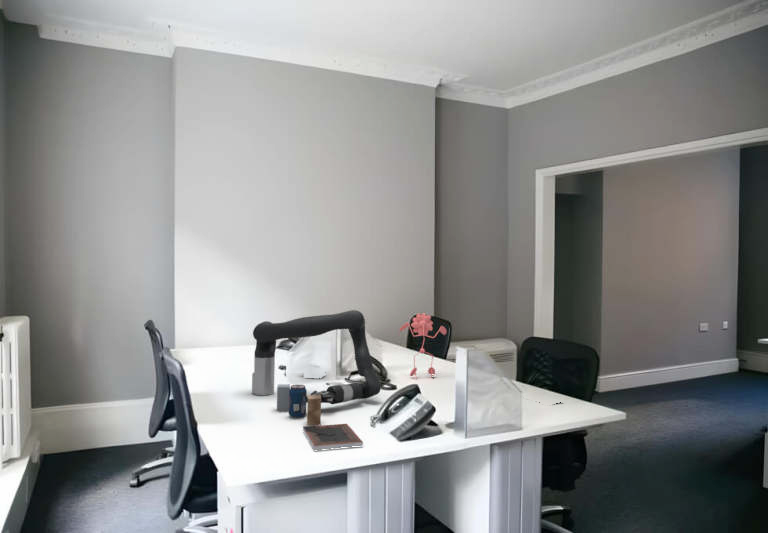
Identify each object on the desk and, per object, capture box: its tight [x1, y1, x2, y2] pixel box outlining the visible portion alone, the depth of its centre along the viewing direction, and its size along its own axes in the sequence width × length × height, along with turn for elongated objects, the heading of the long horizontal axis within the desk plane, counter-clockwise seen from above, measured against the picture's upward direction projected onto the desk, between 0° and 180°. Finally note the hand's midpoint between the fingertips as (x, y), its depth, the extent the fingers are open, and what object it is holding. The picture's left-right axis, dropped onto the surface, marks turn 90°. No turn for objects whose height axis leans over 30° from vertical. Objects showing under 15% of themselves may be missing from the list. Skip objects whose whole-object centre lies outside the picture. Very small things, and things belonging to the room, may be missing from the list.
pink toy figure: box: [398, 312, 447, 378], centre depth 296 cm, size 15×26×35 cm, turn 102°
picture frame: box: [302, 423, 364, 451], centre depth 190 cm, size 16×2×22 cm
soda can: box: [288, 384, 308, 419], centre depth 216 cm, size 7×7×12 cm
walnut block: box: [306, 395, 322, 426], centre depth 208 cm, size 5×5×10 cm
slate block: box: [276, 383, 291, 412], centre depth 225 cm, size 5×5×10 cm
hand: (304, 399), depth 219 cm, fingers closed
